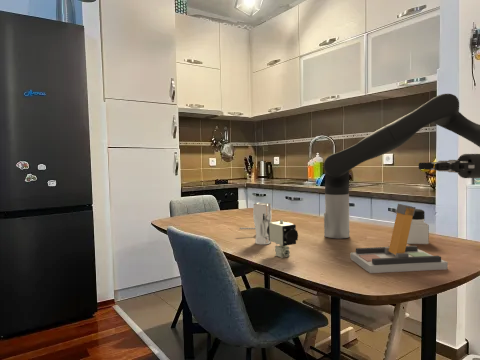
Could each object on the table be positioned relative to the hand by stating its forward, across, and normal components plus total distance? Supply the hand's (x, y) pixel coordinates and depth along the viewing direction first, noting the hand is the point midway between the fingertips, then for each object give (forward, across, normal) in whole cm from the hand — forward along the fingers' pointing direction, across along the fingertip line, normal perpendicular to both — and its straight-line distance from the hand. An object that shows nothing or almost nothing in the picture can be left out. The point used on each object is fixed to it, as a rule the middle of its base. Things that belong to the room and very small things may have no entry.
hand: (426, 166), depth 108 cm
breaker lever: (+12, +6, +25) cm, 29 cm away
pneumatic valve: (+43, -7, +29) cm, 53 cm away
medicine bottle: (-7, -19, +28) cm, 35 cm away
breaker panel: (+12, +6, +28) cm, 31 cm away
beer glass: (+48, -26, +30) cm, 62 cm away
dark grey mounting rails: (+12, +6, +26) cm, 30 cm away
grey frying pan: (+47, -40, +30) cm, 69 cm away
